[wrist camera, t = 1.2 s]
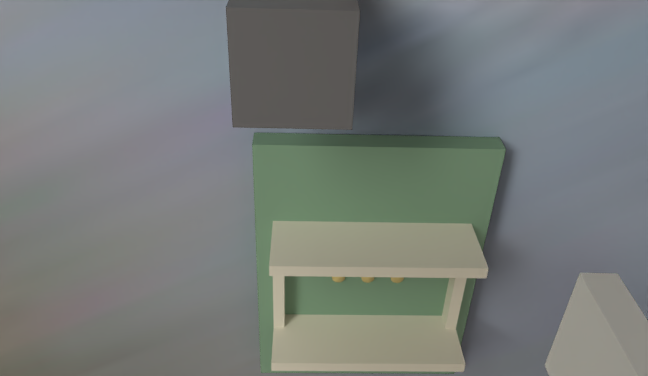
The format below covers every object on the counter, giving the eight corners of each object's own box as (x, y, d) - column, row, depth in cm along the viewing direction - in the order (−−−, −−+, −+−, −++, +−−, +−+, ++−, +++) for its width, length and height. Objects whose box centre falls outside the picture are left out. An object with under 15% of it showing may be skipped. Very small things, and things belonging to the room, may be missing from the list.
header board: (254, 132, 29) (245, 185, 25) (499, 137, 29) (528, 190, 25) (262, 357, 38) (256, 422, 34) (450, 358, 38) (466, 422, 34)
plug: (245, -43, 24) (226, 7, 19) (347, -41, 25) (359, 11, 19) (249, 56, 27) (232, 129, 21) (342, 58, 27) (352, 131, 21)
